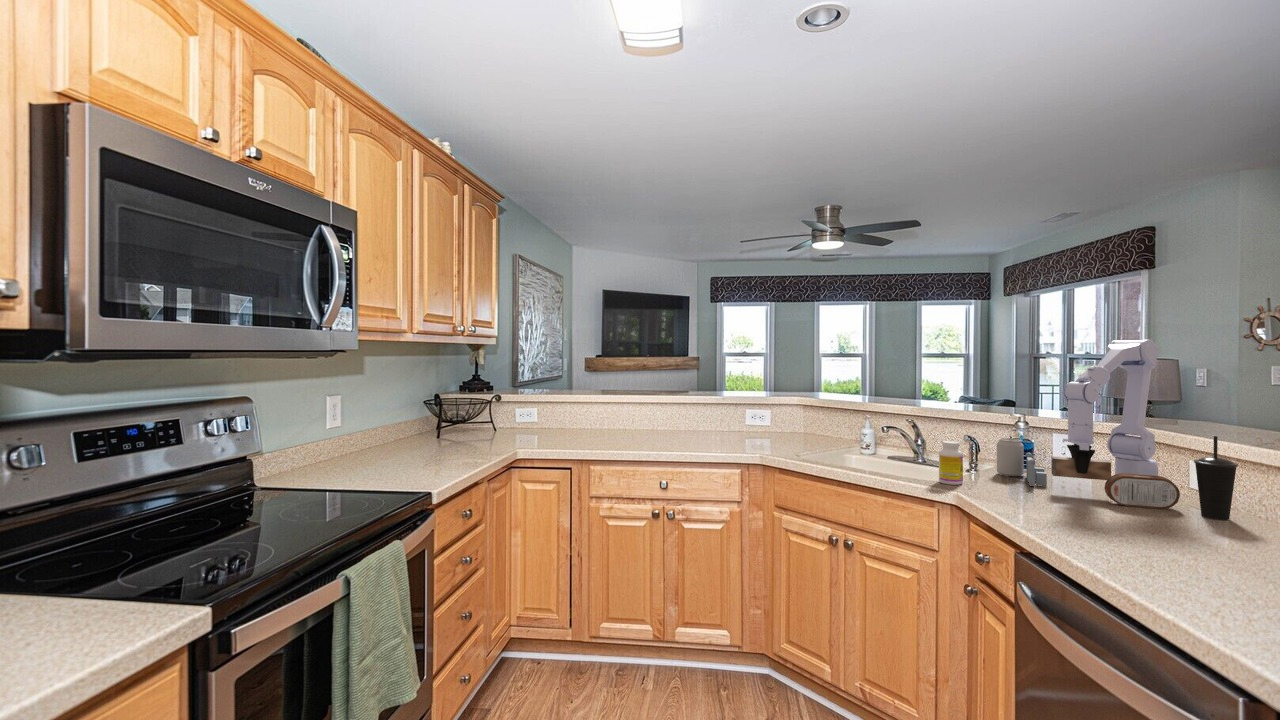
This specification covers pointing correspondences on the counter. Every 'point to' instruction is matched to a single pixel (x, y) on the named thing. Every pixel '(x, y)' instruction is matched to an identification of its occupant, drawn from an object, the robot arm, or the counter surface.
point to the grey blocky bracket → (1035, 472)
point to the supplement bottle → (950, 463)
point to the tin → (1142, 491)
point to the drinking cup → (1215, 485)
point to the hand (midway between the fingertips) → (1080, 471)
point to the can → (1010, 457)
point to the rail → (1068, 469)
